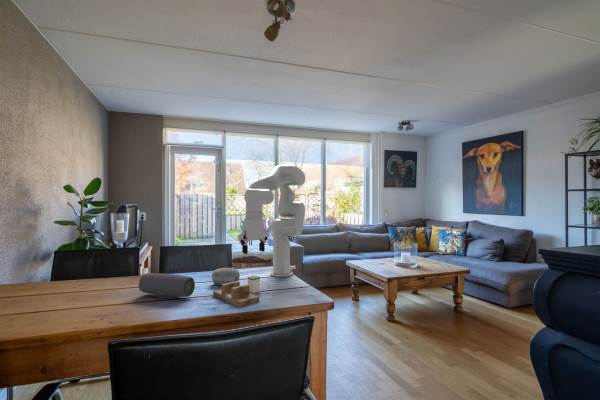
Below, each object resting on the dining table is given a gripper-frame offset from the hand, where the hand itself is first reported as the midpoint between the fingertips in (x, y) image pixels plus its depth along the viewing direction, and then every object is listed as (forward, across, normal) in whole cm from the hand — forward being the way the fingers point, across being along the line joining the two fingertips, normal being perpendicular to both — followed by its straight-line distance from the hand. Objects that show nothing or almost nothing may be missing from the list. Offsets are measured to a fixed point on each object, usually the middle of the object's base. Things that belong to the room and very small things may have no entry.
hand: (253, 252), depth 147 cm
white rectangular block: (+18, 0, 0) cm, 18 cm away
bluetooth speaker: (+19, +32, -20) cm, 42 cm away
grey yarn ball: (+18, +3, -19) cm, 27 cm away
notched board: (+18, +12, +3) cm, 22 cm away
